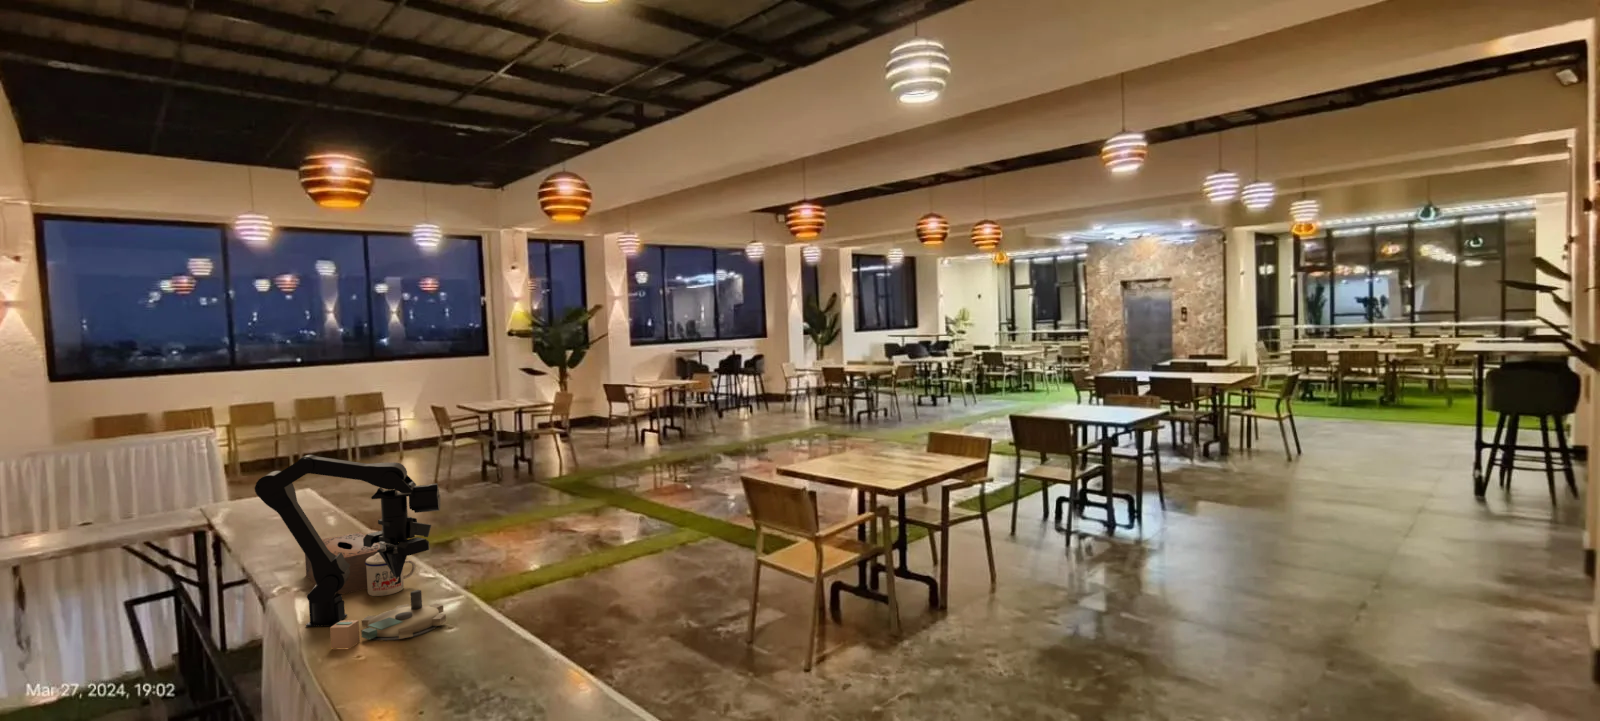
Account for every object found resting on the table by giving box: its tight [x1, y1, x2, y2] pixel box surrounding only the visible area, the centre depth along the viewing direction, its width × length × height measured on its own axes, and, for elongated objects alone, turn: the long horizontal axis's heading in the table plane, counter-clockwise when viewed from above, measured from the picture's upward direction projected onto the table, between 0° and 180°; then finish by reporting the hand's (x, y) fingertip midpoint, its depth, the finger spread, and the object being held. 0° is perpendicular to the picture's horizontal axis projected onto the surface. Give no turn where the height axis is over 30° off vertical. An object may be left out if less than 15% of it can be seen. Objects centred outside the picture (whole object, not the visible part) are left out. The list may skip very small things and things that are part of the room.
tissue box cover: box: [304, 531, 380, 595], centre depth 218 cm, size 26×14×10 cm, turn 44°
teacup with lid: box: [365, 553, 417, 597], centre depth 209 cm, size 12×9×12 cm
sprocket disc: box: [361, 589, 447, 640], centre depth 183 cm, size 19×18×6 cm
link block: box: [329, 619, 361, 649], centre depth 173 cm, size 4×4×5 cm
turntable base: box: [371, 626, 437, 642], centre depth 183 cm, size 16×16×1 cm
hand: (397, 576), depth 192 cm, fingers closed
